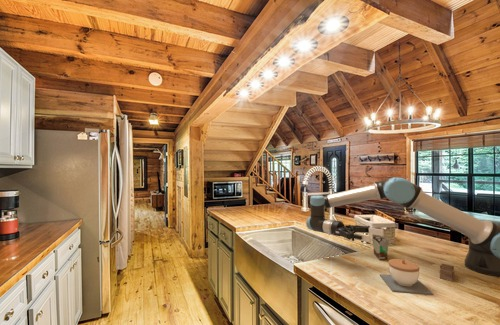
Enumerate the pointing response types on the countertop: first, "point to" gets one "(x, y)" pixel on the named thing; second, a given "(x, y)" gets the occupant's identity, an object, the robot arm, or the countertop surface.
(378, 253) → the food container
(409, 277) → the lidded jar
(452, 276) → the walnut block
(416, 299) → the countertop surface
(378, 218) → the storage basket
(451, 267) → the walnut block
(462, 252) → the countertop surface
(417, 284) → the slate mat
